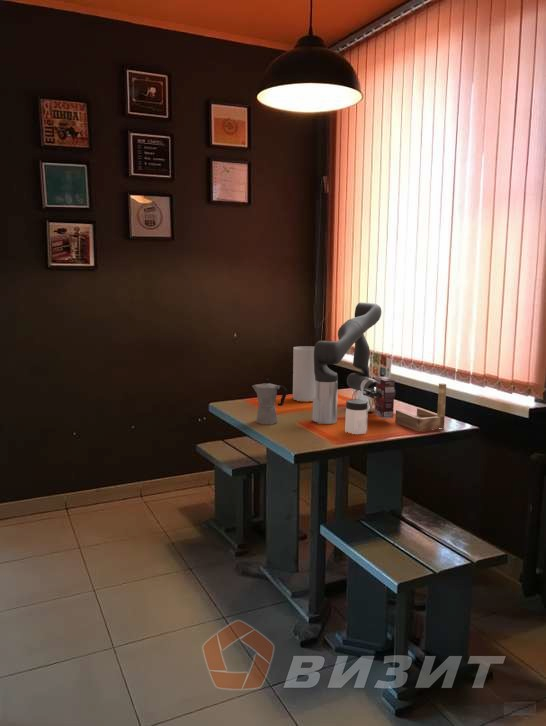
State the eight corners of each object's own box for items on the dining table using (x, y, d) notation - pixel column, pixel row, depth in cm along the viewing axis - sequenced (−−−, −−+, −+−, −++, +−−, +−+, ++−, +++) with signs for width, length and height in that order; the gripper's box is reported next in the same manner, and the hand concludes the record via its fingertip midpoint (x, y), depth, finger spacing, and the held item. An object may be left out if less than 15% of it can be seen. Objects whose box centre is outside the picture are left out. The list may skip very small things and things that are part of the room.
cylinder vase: (290, 397, 293) (291, 346, 289) (315, 396, 295) (316, 346, 291) (295, 403, 281) (296, 350, 277) (321, 402, 283) (323, 349, 279)
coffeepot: (247, 423, 245) (247, 379, 242) (256, 417, 253) (256, 375, 250) (282, 427, 239) (282, 382, 236) (291, 421, 247) (291, 378, 244)
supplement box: (373, 414, 252) (375, 376, 250) (384, 413, 253) (386, 376, 251) (382, 419, 244) (384, 380, 241) (393, 418, 245) (395, 380, 243)
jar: (348, 435, 228) (349, 404, 226) (341, 429, 236) (342, 399, 234) (371, 433, 230) (372, 403, 228) (363, 428, 238) (364, 398, 236)
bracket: (418, 431, 233) (420, 386, 230) (395, 422, 248) (397, 379, 245) (443, 429, 238) (446, 384, 235) (419, 419, 252) (421, 377, 249)
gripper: (356, 379, 259) (371, 387, 242) (387, 379, 262) (404, 386, 246) (355, 397, 260) (370, 405, 244) (386, 396, 263) (403, 404, 247)
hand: (387, 396), depth 245 cm, fingers closed on supplement box, 5 cm apart
